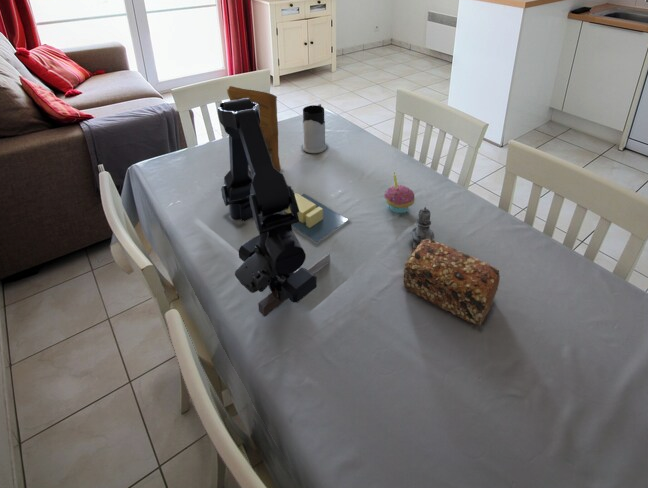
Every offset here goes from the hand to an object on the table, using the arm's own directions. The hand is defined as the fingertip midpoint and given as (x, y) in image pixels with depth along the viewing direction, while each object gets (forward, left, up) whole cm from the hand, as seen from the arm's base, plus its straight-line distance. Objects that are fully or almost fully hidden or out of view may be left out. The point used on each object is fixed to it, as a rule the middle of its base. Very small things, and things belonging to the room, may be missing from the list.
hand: (278, 296), depth 92 cm
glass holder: (-46, +55, +6) cm, 72 cm away
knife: (0, +6, -1) cm, 6 cm away
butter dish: (-16, +24, -2) cm, 29 cm away
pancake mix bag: (-49, +32, -2) cm, 59 cm away
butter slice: (-13, +23, -1) cm, 27 cm away
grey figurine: (+13, +36, -2) cm, 38 cm away
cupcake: (0, +44, -2) cm, 44 cm away
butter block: (-19, +23, -1) cm, 30 cm away
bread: (+26, +27, -2) cm, 37 cm away
